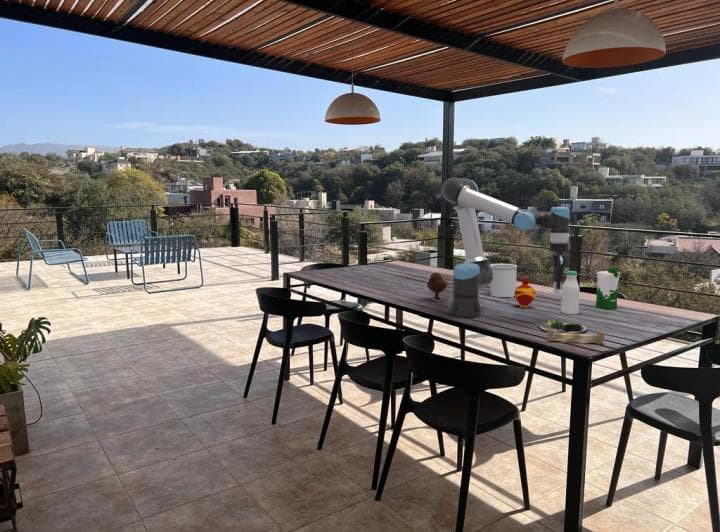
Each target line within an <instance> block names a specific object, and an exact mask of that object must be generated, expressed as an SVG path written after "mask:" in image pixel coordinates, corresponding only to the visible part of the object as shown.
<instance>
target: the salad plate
mask: <svg viewBox="0 0 720 532" xmlns="http://www.w3.org/2000/svg"><path fill="white" fill-rule="evenodd" d="M535 325H537V326H538V327H539V329H541V330H543V331H545V332H546V331H547V329H553V333H569V334H583V333H584V334H586V333H587V331H588V330H589V329H588V327H587V326H584V325H582V324H579V323H576V322H569V323H566V322H563V321H561V320H558V319H553V320H547V322H546V323H544V324H543V323H541V322H535ZM585 332H586V333H585Z"/></svg>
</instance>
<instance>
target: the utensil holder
mask: <svg viewBox="0 0 720 532" xmlns="http://www.w3.org/2000/svg"><path fill="white" fill-rule="evenodd" d="M489 265H490V266H491V267H492V268H493V271H494V279H493V281H492V283H491V284H490V285H489V290H490V291H489V295H490V296H491V295H492V296H491V297H493V296H497V297H496V298H499V297H511V298H515V297H514V295H515V294H514V293H515V289H516V288H517V268H518V265H517V264H510V263H491V264H489Z"/></svg>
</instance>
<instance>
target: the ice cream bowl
mask: <svg viewBox="0 0 720 532" xmlns="http://www.w3.org/2000/svg"><path fill="white" fill-rule="evenodd" d="M426 286H427V288H428V289H429V291H431V292H433V293H434V294H435V295H434V297H432V299H436V300H440V299H441V297H439V294H440V293H441V292H443V291H444V290H446V288H447V286H448V282H446V281H445V280H444V278H443V276H442V274H440V273H439V272H433V273H431V275H430V277H429V279H428V281H427V282H426Z"/></svg>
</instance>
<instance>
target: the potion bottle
mask: <svg viewBox="0 0 720 532" xmlns="http://www.w3.org/2000/svg"><path fill="white" fill-rule="evenodd" d="M520 278H521V280H520V282H522V284H520V285H517V286H516V289H515V293H514V294H515V295H514V296H515V297H514V298H515V300H516V301H517V303H518V304H519V305H518V307H519V306H520V307H519V308H522V307H523V308H524V309H529V308H530V305H531V303H532V302H533V301H534V300H535V299H536V297H537V294H536V292H537V290H536V289H535V287H533V286H531V285H529V283H530V282H531V280H530V278H531V277H529V276H521V277H520ZM523 308H522V309H523Z"/></svg>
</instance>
